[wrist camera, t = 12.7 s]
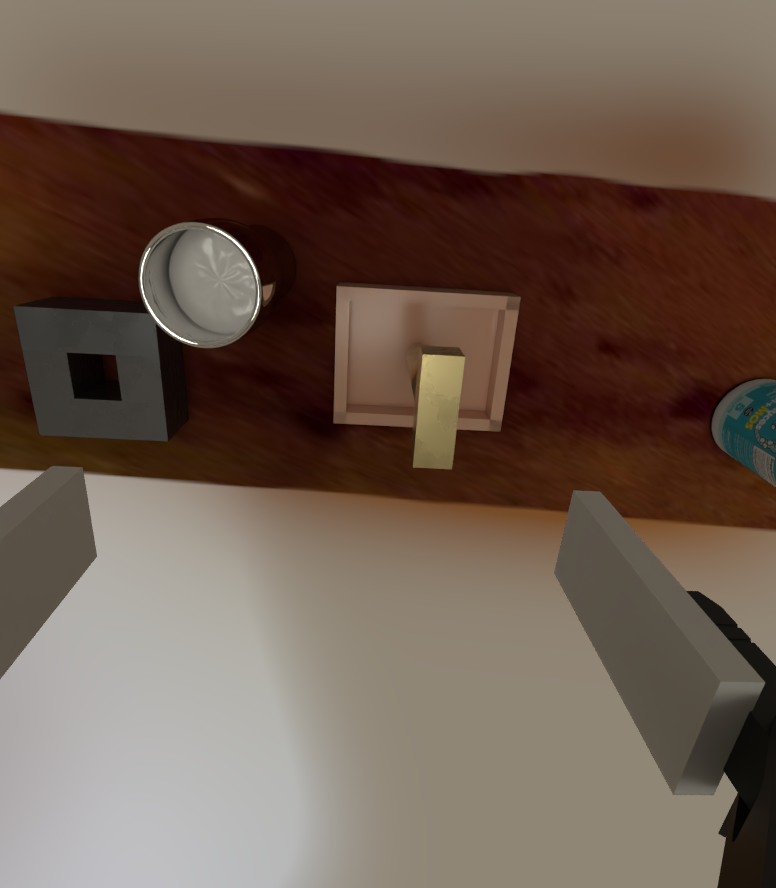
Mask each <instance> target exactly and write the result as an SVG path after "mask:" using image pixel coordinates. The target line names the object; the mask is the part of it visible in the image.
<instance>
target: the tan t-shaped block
mask: <svg viewBox="0 0 776 888" xmlns="http://www.w3.org/2000/svg"><path fill="white" fill-rule="evenodd" d="M406 361H407V366H408V371H409V376H410V381H411V386H412V391H413V396H414V401H415V407H414V419H413V431H412V442H411V458H412V465H413V467H416V468H436V469H452V464H453V456H454V447H455V439H456V430H457V422H458V413H459V405H460V396H461V388H462V379H463V371H464V363H465V356H464V354H463V353H462V351H461V349H460V348H459V347H442V346H429V345H428V344H426V343H416V344H414V345H412V346H411V347H410V348H409V349H408V351H407V354H406Z"/></svg>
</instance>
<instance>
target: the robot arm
mask: <svg viewBox="0 0 776 888" xmlns="http://www.w3.org/2000/svg"><path fill="white" fill-rule="evenodd" d="M96 557H97V554H96V548H95V542H94V535H93V529H92V523H91V516H90V510H89V505H88V498H87V492H86V486H85V479H84V473H83V467H62V466H51V467H50V468H49V469H48V470H46V471H45V472H44V473H43V474H41V475H40V476H39V477H38V478H36V479H35V480H34V481H33V482H31V483H30V484H29V485H28V486H26V487H25V488H24V489H23V490H21V491H20V492H19V493H17V494H16V495H15V496H14V497H13V498H11V499H10V500H9V501H7V502H6V503H5V504H4V505H2V506H1V507H0V679H1V677H2V676H3V675H4V674H5V672H6V671H7V670H8V668H9V667H10V666H11V665H12V664H13V662H14V661H15V660H16V658H17V657H18V656H19V655H20V653H21V652H22V651H23V650H24V648H25V647H26V646H27V644H28V643H29V642H30V641H31V639H32V638H33V637H34V636H35V634H36V633H37V632H38V631H39V629H40V628H41V627H42V625H43V624H44V623H45V622H46V620H47V619H48V618H49V617H50V615H51V614H52V613H53V611H54V610H55V609H56V608H57V606H58V605H59V604H60V603H61V601H62V600H63V599H64V598H65V596H66V595H67V594H68V592H69V591H70V590H71V588H72V587H73V586H74V585H75V584H76V582H77V581H78V580H79V578H80V577H81V576H82V575H83V573H84V572H85V571H86V570H87V568H88V567H89V566H90V565H91V563H92V562H93V561H94V559H95V558H96ZM554 573H555V575H556V577H557V579H558V581H559V583H560V585H561V587H562V588H563V590H564V592H565V594H566V596H567V598H568V599H569V601H570V603H571V605H572V607H573V609H574V611H575V612H576V615H577V616H578V618H579V620H580V622H581V624H582V626H583V628H584V629H585V631H586V633H587V635H588V637H589V639H590V641H591V642H592V644H593V646H594V648H595V650H596V652H597V653H598V655H599V657H600V659H601V661H602V663H603V665H604V667H605V668H606V670H607V672H608V674H609V676H610V678H611V680H612V681H613V683H614V685H615V687H616V689H617V691H618V693H619V695H620V696H621V698H622V700H623V702H624V704H625V706H626V708H627V709H628V711H629V713H630V715H631V717H632V719H633V721H634V722H635V724H636V726H637V728H638V730H639V732H640V734H641V735H642V737H643V739H644V741H645V743H646V745H647V747H648V748H649V750H650V752H651V754H652V756H653V758H654V760H655V761H656V763H657V765H658V767H659V768H660V771H661V773H662V775H663V776H664V778H665V780H666V782H667V784H668V786H669V788H670V789H671V791H672V793H673V795H714V793H715V791H716V789H717V787H718V785H719V782H720V780H721V778H722V776H723V774H724V772H725V773H726V775H727V776H728V778H729V780H730V781H731V783H732V784H733V786H734V787H735V789H736V790H737V792H738V794H737V796H736V798H735V800H734V802H733V804H732V806H731V808H730V810H729V812H728V815H727V816H726V819H725V820H724V823H723V825H722V827H721V829H720V831H719V834H720V835H722V836H724V837H726V841H725V847H724V853H723V859H722V865H721V871H720V876H719V882H718V887H717V888H776V666H775V665H774V664H773V663H772V662H771V660H770V659H769V658H768V657H767V656H766V655H765V654H764V653H763V652H762V651H761V650H760V649H759V647H757V645H756V644H755V643H751V639H750V638H749V637H748V635H746V633H745V632H744V631H743V630H742V629H741V628H738V627H737V624H736V622H735V621H734V620H733V619H732V618H731V617H730V616H729V615H728V614H727V613H726V612H725V610H724V609H723V608H722V607H721V606H719V605H718V604H716V603H715V602H713V601H712V600H710V599H709V598H707V597H706V596H705V595H703V594H701V593H700V592H698V591H686V590H685V589H684V588H683V587H682V586H681V585H680V583H679V582H678V581H677V580H676V579H675V578H674V577H673V576H672V574H671V573H670V572H669V571H668V570H667V568H666V567H665V566H664V565H663V564H662V563H661V561H660V560H659V559H658V558H657V557H656V556H655V555H654V553H653V552H652V551H651V550H650V549H649V548H648V546H647V545H646V544H645V543H644V542H643V541H642V539H641V538H640V537H639V536H638V535H637V534H636V533H635V531H634V530H633V529H632V528H631V527H630V526H629V524H628V523H627V522H626V521H625V520H624V519H623V518H622V516H621V515H620V514H619V513H618V512H617V511H616V509H615V508H614V507H613V506H612V505H611V504H610V502H609V501H608V500H607V499H606V498H605V497H604V496H603V494H602V493H601V492H595V491H573V494H572V499H571V503H570V507H569V511H568V516H567V520H566V525H565V529H564V533H563V537H562V541H561V546H560V550H559V555H558V559H557V563H556V567H555V572H554Z"/></svg>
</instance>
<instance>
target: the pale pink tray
mask: <svg viewBox="0 0 776 888" xmlns="http://www.w3.org/2000/svg"><path fill="white" fill-rule="evenodd" d="M520 298H521V297H519V296H517V295H516V294H514V293H512V292H498V291H481V290H465V289H448V288H432V287H415V286H399V285H382V284H365V283H349V282H339V283H338V285H337V294H336V339H335V384H334V423H341V424H361V425H381V426H401V427H413V419H414V407H415V401H414V396H413V391H412V386H411V381H410V376H409V371H408V366H407V361H406V354H407V351H408V349H409V348H410V347H411V346H412V345H414V344H416V343H426V344H428V345H429V346H442V347H459V348H460V349H461V351H462V353H463V354H464V356H465V363H464V371H463V379H462V388H461V396H460V405H459V413H458V422H457V429H461V430H481V431H501V424H502V417H503V411H504V404H505V398H506V391H507V384H508V378H509V371H510V364H511V358H512V351H513V345H514V338H515V331H516V325H517V318H518V311H519V305H520Z"/></svg>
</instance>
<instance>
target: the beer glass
mask: <svg viewBox="0 0 776 888" xmlns="http://www.w3.org/2000/svg"><path fill="white" fill-rule="evenodd" d="M295 275H296V263H295V258H294V254H293V252H292V250H291V248H290V246H289V244H288V243H287V242H286V240H285V239H284V238H283V237H282V236H281V235H280V234H278V233H277V232H276V231H274V230H272V229H270V228H268V227H265V226H261V225H245V224H243V223H240V222H237V221H234V220H230V219H223V218H204V219H196V220H192V221H188V222H184V223H178V224H175V225H172V226H170V227H167V228H166V229H164V230H162V231H161V232H159V233H158V234H157V235H156V236H155V237H154V238H153V239H152V240H151V241H150V242H149V243H148V245H147V246H146V248H145V250H144V252H143V254H142V257H141V260H140V264H139V270H138V284H139V291H140V295H141V298H142V301H143V303H144V306H145V308H146V310H147V311H148V313H149V315H150V316H151V318H152V319H153V320H154V322H155V323H156V324H157V325H158V326H159V327H160V328H161V329H162V330H163V331H164V332H165V333H167V334H168V335H169V336H171V337H172V338H174V339H176V340H178V341H180V342H182V343H184V344H187V345H190V346H194V347H199V348H217V347H222V346H226V345H228V344H231V343H233V342H235V341H237V340H238V339H240V338H242V337H244V336H246V335H248V334H249V333H251V332H252V331H254V330H255V329H257V328H258V327H259V326H261V325H262V324H263V323H264V322H265V321H266V320H267V318H268V317H269V316H270V315H271V314H272V312H273V311H274V309H275V307H276V305H277V303H278V301H279V300H281V299H282V298H283V297H284V296H285V295H286V294H287V293H288V292H289V290H290V289H291V287H292V285H293V282H294V279H295Z"/></svg>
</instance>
